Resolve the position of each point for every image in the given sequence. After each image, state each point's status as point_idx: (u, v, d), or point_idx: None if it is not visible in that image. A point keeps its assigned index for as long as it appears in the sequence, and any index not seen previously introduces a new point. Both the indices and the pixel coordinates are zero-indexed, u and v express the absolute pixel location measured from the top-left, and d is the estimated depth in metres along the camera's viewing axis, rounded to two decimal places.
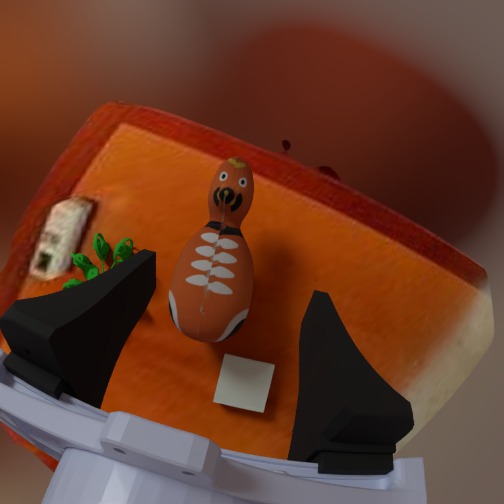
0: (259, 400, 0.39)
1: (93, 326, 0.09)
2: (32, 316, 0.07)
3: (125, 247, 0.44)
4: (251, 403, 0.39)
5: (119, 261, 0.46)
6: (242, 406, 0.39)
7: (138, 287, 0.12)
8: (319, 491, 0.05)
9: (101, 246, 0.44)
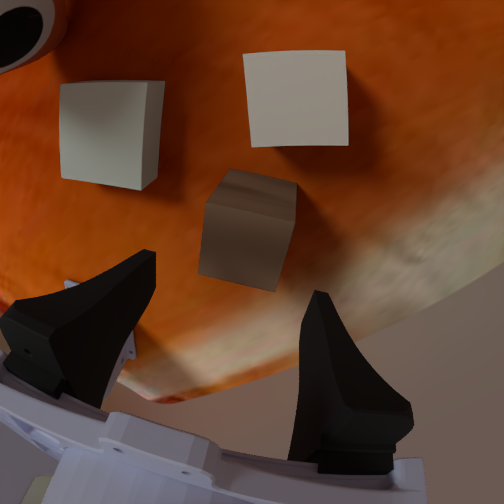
0: (129, 164, 0.18)
1: (93, 326, 0.09)
2: (32, 317, 0.07)
3: None
4: (117, 172, 0.19)
5: None
6: (103, 180, 0.19)
7: (138, 287, 0.12)
8: (319, 491, 0.05)
9: None
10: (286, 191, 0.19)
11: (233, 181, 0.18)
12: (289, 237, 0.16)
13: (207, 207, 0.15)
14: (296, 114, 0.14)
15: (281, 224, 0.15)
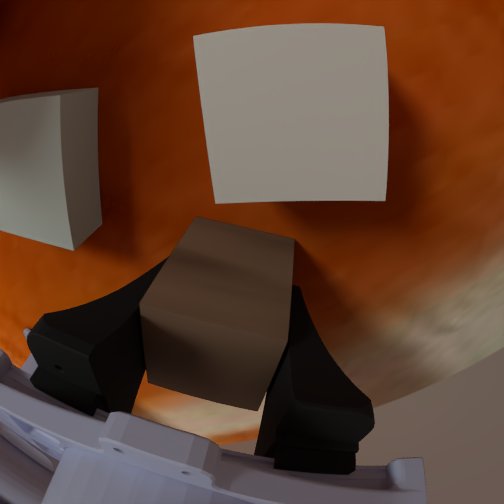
0: (53, 215, 0.12)
1: (127, 338, 0.09)
2: (67, 332, 0.07)
3: None
4: (43, 225, 0.12)
5: None
6: (30, 234, 0.13)
7: None
8: (319, 491, 0.05)
9: None
10: (278, 261, 0.12)
11: (194, 246, 0.12)
12: (277, 358, 0.09)
13: (142, 310, 0.09)
14: (293, 145, 0.08)
15: (264, 342, 0.09)
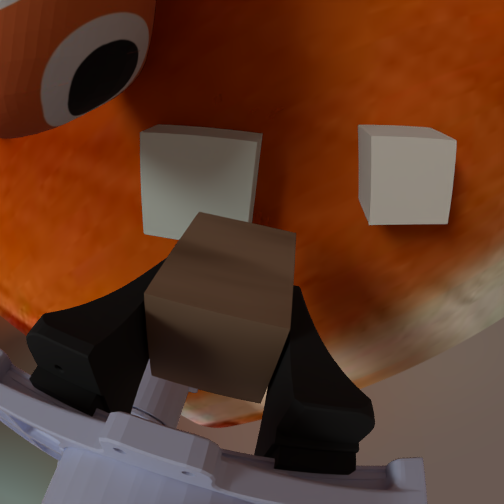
0: None
1: (127, 338, 0.09)
2: (66, 332, 0.07)
3: None
4: None
5: None
6: None
7: None
8: (319, 491, 0.05)
9: None
10: (280, 253, 0.12)
11: (197, 239, 0.12)
12: (280, 347, 0.09)
13: (147, 300, 0.09)
14: (411, 197, 0.15)
15: (266, 330, 0.09)
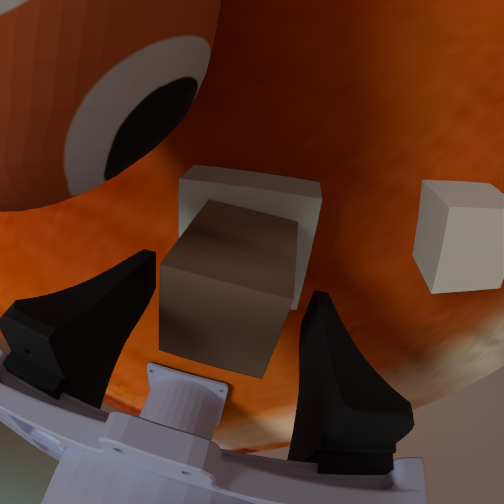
0: None
1: (93, 326, 0.09)
2: (32, 317, 0.07)
3: None
4: None
5: None
6: None
7: (138, 287, 0.12)
8: (319, 491, 0.05)
9: None
10: (283, 238, 0.13)
11: (208, 222, 0.13)
12: (283, 318, 0.10)
13: (162, 271, 0.10)
14: (474, 266, 0.13)
15: (272, 301, 0.10)
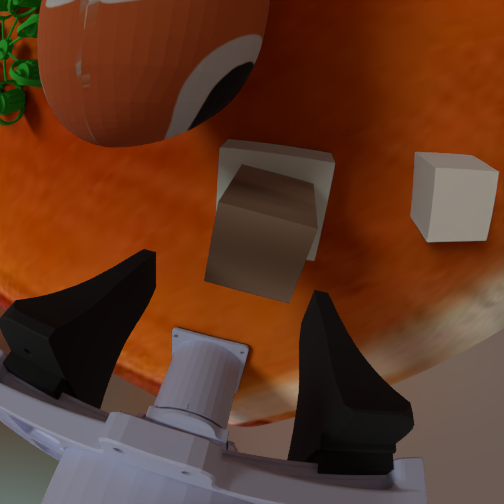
0: None
1: (93, 326, 0.09)
2: (32, 317, 0.07)
3: None
4: None
5: (27, 13, 0.14)
6: None
7: (138, 287, 0.12)
8: (319, 491, 0.05)
9: None
10: (304, 192, 0.17)
11: (246, 179, 0.17)
12: (310, 245, 0.14)
13: (219, 208, 0.14)
14: (461, 219, 0.17)
15: (302, 230, 0.14)
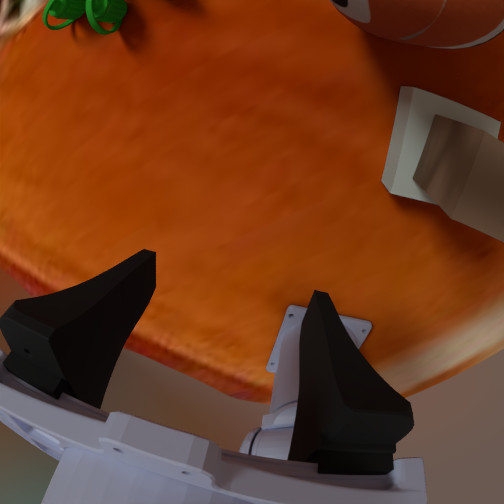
0: None
1: (93, 326, 0.09)
2: (32, 316, 0.07)
3: None
4: None
5: None
6: None
7: (138, 287, 0.12)
8: (319, 491, 0.05)
9: None
10: None
11: None
12: None
13: (484, 137, 0.10)
14: None
15: None
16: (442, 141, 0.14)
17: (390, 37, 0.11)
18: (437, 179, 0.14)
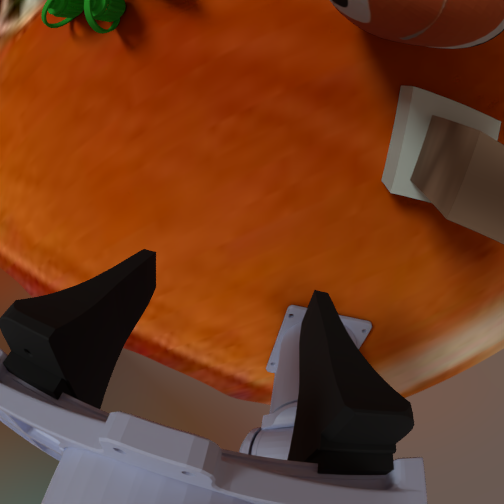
0: None
1: (93, 326, 0.09)
2: (32, 316, 0.07)
3: None
4: None
5: None
6: None
7: (138, 287, 0.12)
8: (319, 491, 0.05)
9: None
10: None
11: None
12: None
13: (480, 137, 0.10)
14: None
15: None
16: (439, 142, 0.14)
17: (390, 37, 0.11)
18: (434, 180, 0.14)
